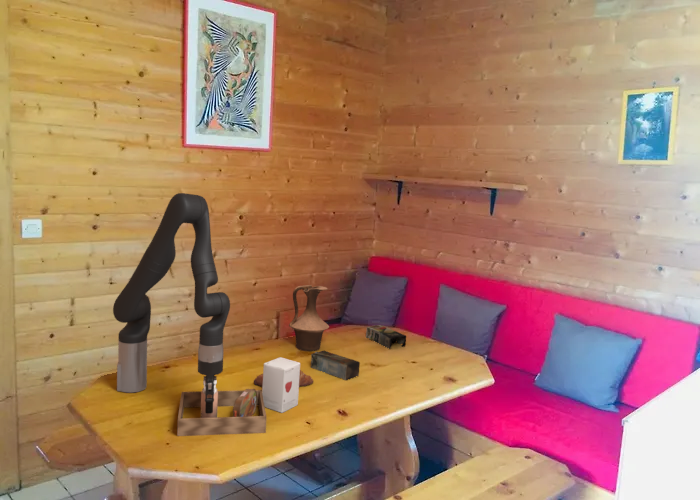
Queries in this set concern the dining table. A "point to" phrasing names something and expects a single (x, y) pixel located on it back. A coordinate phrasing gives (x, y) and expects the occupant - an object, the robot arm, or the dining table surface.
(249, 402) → the tin
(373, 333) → the dark slotted box
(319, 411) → the dining table surface
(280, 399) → the supplement box
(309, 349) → the pitcher
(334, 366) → the beverage carton
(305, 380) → the pastry
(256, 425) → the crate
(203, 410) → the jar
